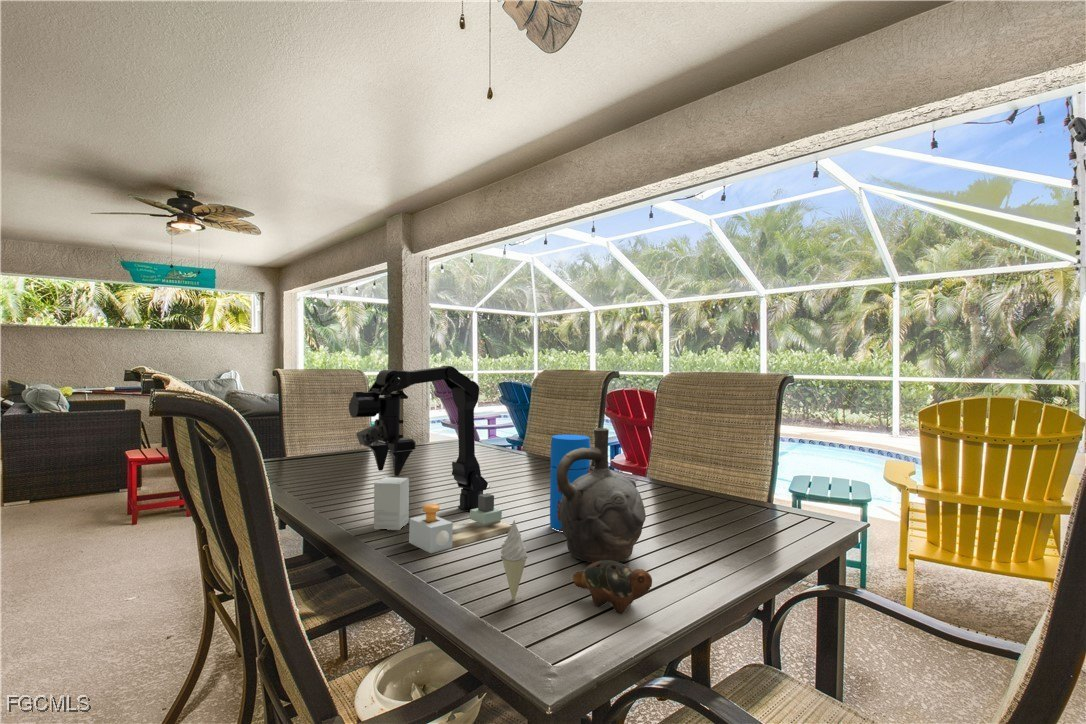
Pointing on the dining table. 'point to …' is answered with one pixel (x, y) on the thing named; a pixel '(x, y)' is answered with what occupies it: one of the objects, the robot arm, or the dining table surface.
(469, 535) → the rail board
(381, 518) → the supplement box
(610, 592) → the decorative turtle
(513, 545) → the ice cream cone
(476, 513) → the carriage
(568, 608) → the dining table surface
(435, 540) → the gauge cabinet
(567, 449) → the thermos
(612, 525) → the vessel
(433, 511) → the button
